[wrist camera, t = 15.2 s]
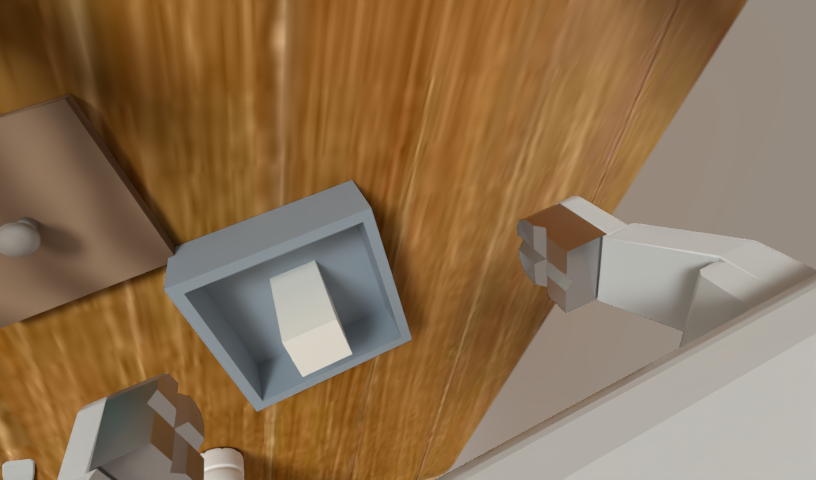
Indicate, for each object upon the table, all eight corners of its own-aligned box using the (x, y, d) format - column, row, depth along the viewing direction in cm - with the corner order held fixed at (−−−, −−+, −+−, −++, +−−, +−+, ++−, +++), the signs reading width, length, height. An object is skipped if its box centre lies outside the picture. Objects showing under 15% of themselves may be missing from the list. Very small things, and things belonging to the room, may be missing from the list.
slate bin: (352, 179, 40) (371, 207, 35) (392, 304, 50) (412, 339, 45) (169, 248, 37) (163, 289, 32) (252, 367, 47) (256, 411, 42)
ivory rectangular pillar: (314, 260, 42) (336, 319, 35) (329, 293, 44) (352, 354, 37) (269, 278, 41) (282, 342, 34) (287, 311, 44) (302, 377, 36)
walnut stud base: (70, 93, 29) (49, 112, 25) (178, 251, 37) (174, 283, 33) (-168, 164, 26) (-232, 197, 22) (5, 317, 35) (-21, 360, 31)
